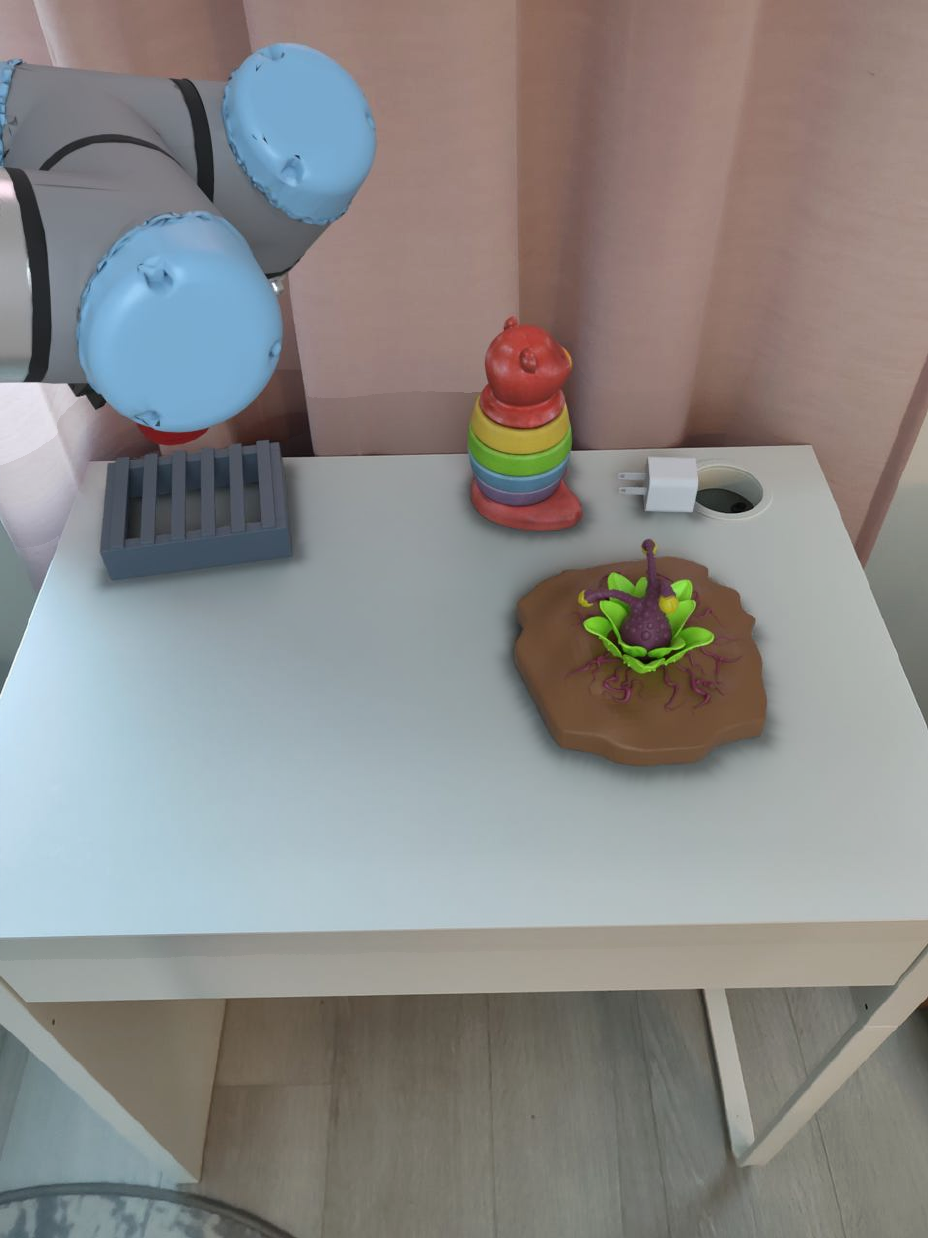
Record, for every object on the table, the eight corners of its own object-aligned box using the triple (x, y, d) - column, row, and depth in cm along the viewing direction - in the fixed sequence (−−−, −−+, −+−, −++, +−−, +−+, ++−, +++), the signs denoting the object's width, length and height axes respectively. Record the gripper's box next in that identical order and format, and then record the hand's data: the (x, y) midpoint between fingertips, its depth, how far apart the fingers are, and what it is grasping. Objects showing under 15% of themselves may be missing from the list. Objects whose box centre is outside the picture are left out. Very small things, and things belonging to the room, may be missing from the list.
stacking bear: (586, 528, 92) (604, 363, 78) (478, 541, 91) (477, 376, 77) (561, 453, 99) (573, 290, 85) (460, 464, 98) (456, 302, 84)
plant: (543, 786, 74) (551, 695, 65) (496, 594, 86) (498, 497, 78) (802, 748, 75) (842, 655, 67) (719, 566, 88) (744, 468, 80)
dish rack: (111, 580, 88) (98, 548, 85) (118, 491, 96) (106, 459, 93) (292, 556, 90) (285, 523, 87) (284, 470, 98) (278, 438, 95)
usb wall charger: (691, 515, 92) (698, 483, 89) (616, 513, 93) (621, 480, 90) (688, 487, 95) (694, 454, 92) (615, 485, 95) (619, 452, 92)
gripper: (99, 381, 55) (48, 471, 75) (393, 237, 66) (281, 349, 85) (18, 259, 54) (-12, 382, 73) (332, 131, 64) (232, 269, 84)
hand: (145, 364), depth 79 cm, fingers closed on plastic cup, 9 cm apart
